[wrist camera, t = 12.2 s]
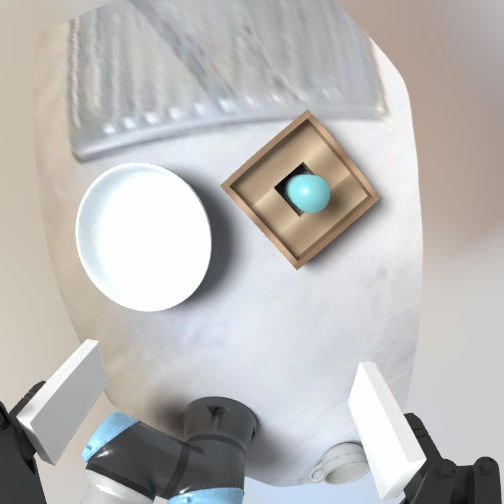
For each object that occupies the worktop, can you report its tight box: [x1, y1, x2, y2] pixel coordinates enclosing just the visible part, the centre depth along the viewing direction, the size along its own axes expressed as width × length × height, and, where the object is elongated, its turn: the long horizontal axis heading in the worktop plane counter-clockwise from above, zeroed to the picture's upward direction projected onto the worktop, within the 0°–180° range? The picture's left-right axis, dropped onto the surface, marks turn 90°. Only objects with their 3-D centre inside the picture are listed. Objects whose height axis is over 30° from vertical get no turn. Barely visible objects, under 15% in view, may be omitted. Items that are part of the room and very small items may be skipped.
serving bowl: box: [76, 162, 212, 311], centre depth 41 cm, size 21×21×7 cm
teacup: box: [309, 443, 370, 485], centre depth 53 cm, size 14×11×8 cm
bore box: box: [220, 110, 380, 270], centre depth 39 cm, size 15×15×6 cm
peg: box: [285, 175, 330, 213], centre depth 36 cm, size 4×4×12 cm
